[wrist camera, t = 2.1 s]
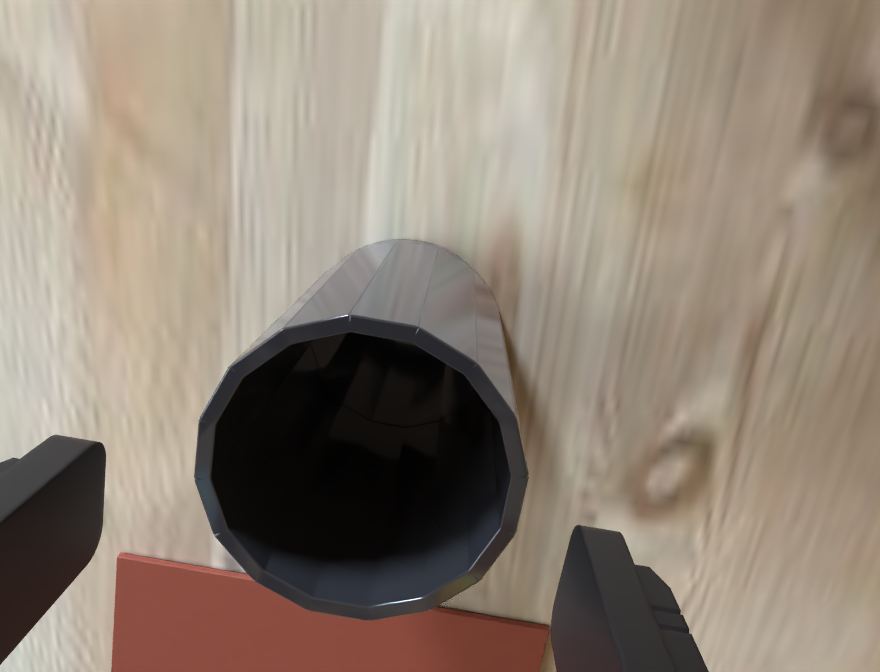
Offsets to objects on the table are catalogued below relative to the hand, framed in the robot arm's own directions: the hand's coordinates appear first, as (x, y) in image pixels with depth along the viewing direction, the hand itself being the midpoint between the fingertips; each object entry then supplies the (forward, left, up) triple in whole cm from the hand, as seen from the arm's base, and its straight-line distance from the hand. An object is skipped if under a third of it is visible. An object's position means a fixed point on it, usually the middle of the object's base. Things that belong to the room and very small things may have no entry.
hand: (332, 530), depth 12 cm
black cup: (0, 0, -12) cm, 12 cm away
